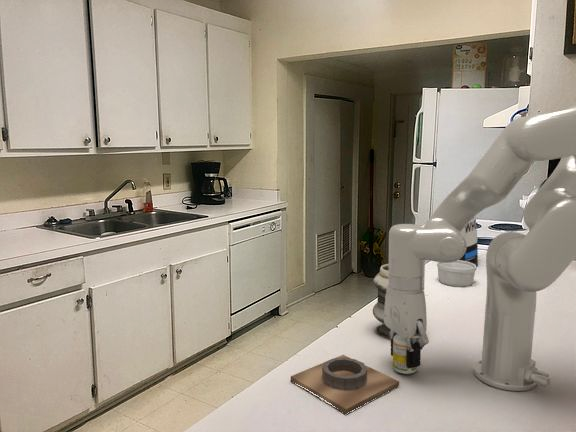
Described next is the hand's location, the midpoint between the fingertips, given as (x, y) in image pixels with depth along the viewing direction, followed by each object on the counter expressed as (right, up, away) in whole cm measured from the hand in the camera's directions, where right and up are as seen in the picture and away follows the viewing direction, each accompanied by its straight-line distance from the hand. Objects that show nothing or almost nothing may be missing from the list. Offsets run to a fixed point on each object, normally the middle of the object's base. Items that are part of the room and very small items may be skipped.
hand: (405, 360), depth 104 cm
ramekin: (+34, +8, +65) cm, 74 cm away
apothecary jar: (+3, +1, +21) cm, 21 cm away
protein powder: (+47, +12, +90) cm, 102 cm away
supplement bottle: (0, -2, 0) cm, 2 cm away
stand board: (-14, -3, -5) cm, 15 cm away
